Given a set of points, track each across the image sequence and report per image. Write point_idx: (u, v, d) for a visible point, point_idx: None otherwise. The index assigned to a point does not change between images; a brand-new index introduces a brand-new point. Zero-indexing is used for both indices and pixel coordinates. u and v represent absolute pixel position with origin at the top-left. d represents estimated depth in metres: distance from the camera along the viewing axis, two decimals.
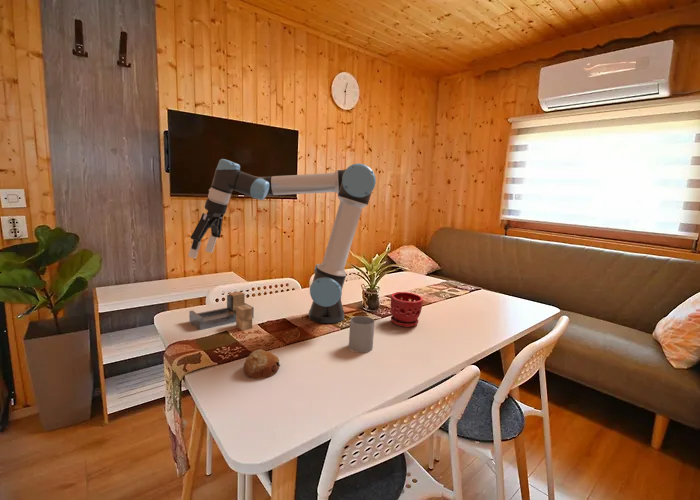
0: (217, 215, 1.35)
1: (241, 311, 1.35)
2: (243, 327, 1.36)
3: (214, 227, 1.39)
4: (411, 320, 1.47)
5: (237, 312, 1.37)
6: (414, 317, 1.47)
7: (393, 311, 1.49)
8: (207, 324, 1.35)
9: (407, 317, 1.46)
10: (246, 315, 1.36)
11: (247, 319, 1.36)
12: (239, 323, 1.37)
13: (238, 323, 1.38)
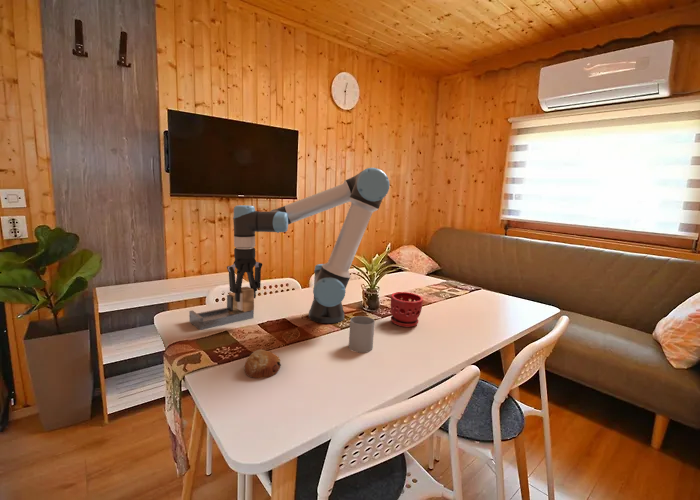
0: (250, 258, 1.35)
1: (242, 292, 1.34)
2: (244, 308, 1.34)
3: (249, 276, 1.37)
4: (411, 320, 1.47)
5: None
6: (414, 317, 1.47)
7: (393, 311, 1.49)
8: (207, 324, 1.35)
9: (407, 317, 1.46)
10: (247, 296, 1.35)
11: (248, 300, 1.35)
12: None
13: None
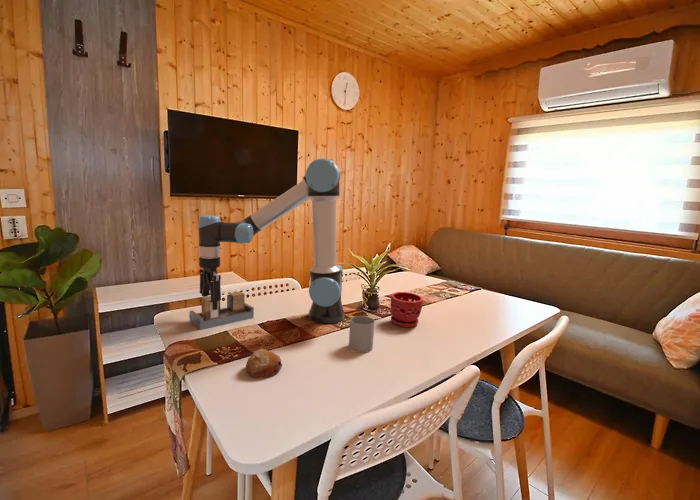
0: (208, 269, 1.36)
1: None
2: None
3: None
4: (411, 320, 1.47)
5: None
6: (414, 317, 1.47)
7: (393, 311, 1.49)
8: (207, 324, 1.35)
9: (407, 317, 1.46)
10: (203, 304, 1.39)
11: (203, 309, 1.39)
12: None
13: None
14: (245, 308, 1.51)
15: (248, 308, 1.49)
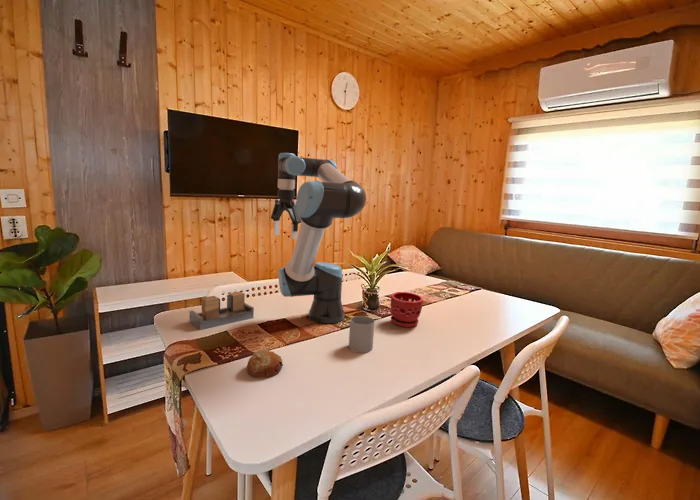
0: (285, 201, 1.60)
1: None
2: None
3: None
4: (411, 320, 1.47)
5: None
6: (414, 317, 1.47)
7: (393, 311, 1.49)
8: (207, 324, 1.35)
9: (407, 317, 1.46)
10: (203, 304, 1.39)
11: (203, 309, 1.39)
12: None
13: None
14: (245, 308, 1.51)
15: (248, 308, 1.49)
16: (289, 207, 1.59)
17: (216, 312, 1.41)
